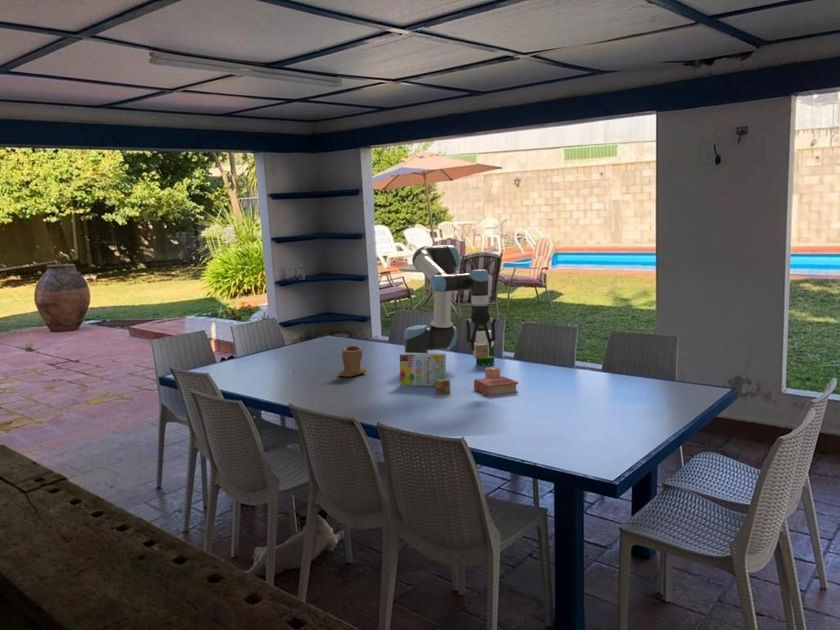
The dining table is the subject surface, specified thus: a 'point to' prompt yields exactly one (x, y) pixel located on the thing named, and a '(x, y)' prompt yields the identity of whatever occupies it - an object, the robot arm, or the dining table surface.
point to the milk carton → (483, 339)
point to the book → (495, 386)
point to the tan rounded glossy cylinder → (492, 372)
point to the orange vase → (352, 361)
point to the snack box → (422, 368)
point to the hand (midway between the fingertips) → (481, 357)
